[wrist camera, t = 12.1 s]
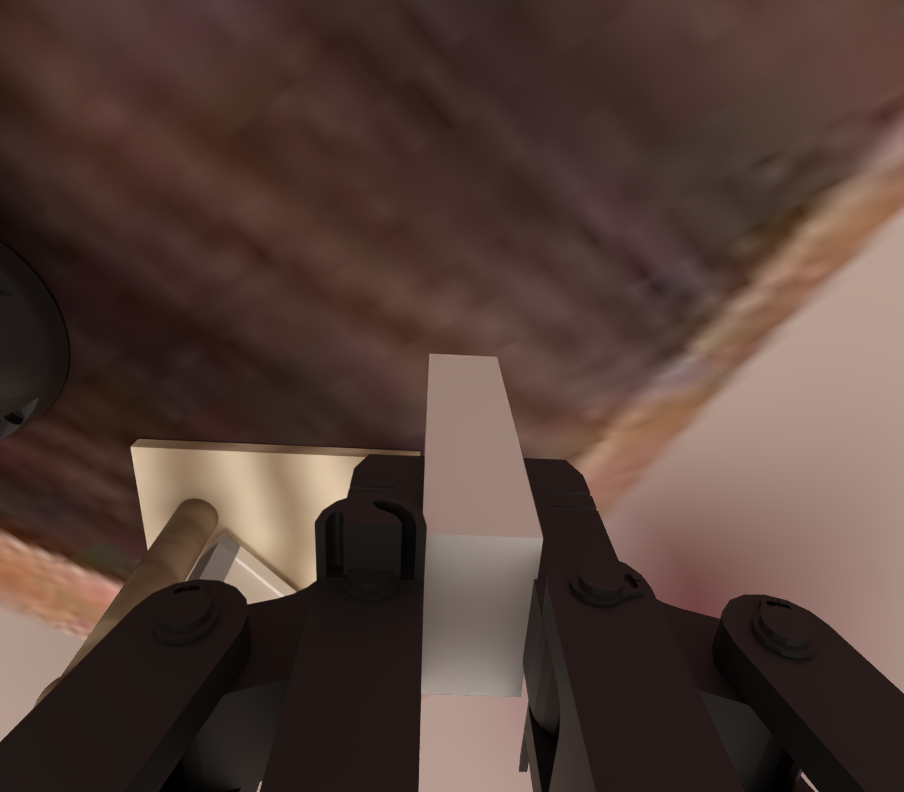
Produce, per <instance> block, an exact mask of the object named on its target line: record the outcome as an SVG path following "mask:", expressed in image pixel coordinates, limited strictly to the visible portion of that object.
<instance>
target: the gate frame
mask: <svg viewBox="0 0 904 792" xmlns="http://www.w3.org/2000/svg"><path fill="white" fill-rule="evenodd" d="M131 453H132V459H133V465H134V471H135V477H136V483H137V489H138V495H139V500H140V506H141V512H142V518H143V524H144V530H145V536H146V542H147V548H148V551H147V553H146V554H145V555H144V557H143V558H142V560H141V561H140V563H139V564H138V566H137V567H136V568H135V570H134V571H133V573H132V574H131V576H130V577H129V579H128V580H127V582H126V583H125V584H124V586H123V587H122V589H121V590H120V592H119V593H118V595H117V596H116V597H115V599H114V600H113V602H112V603H111V605H110V606H109V608H108V609H107V610H106V612H105V613H104V615H103V616H102V618H101V619H100V621H99V622H98V624H97V625H96V626H95V628H94V629H93V631H92V632H91V634H90V635H89V637H88V638H87V639H86V641H85V642H84V644H83V645H82V647H81V648H80V650H79V651H78V652H77V654H76V655H75V657H74V658H73V660H72V661H71V663H70V664H69V666H68V667H67V668H66V670H65V671H64V673H63V674H62V676H61V677H59V678H58V679H56V680H55V681H53V682H52V683H51V684H50V685H48V686H47V687H46V688H45V690H44V691H43V692H42V693H41V695H40V696H39V698H38V699H37V702H36V704H35V706H36V705H37V704H38V703H39V702H40V701H41V700H42V699H43V698H44V697H45V696H46V695H47V694H48V693H49V692H50V691H51V690H52V689H53V688H54V687H55V686H56V685H57V684H58V683H59V682H60V681H61V680H62V679H63V678H64V677H65V676H66V675H67V674H68V673H69V672H70V671H71V670H72V669H73V668H74V667H75V666H76V665H77V664H78V663H79V662H80V661H81V660H82V659H83V658H84V657H85V656H86V655H87V654H88V653H89V652H90V651H91V650H92V649H93V648H94V647H95V646H96V645H97V644H98V643H99V642H100V641H101V640H102V639H103V638H104V637H105V636H106V635H107V634H108V633H109V632H110V631H111V630H112V629H113V628H114V627H115V626H116V625H117V624H118V623H119V622H120V621H121V620H122V619H123V618H124V617H125V616H126V615H127V614H128V613H129V612H130V611H131V610H132V609H133V608H134V607H135V606H136V605H137V604H139V603H140V602H141V601H143V600H144V599H145V598H147V597H148V596H149V595H151V594H152V593H154V592H156V591H159V590H161V589H163V588H165V587H168V586H170V585H172V584H175V583H180V582H185V581H187V580H188V578H189V576H190V574H191V573H192V571H193V569H194V567H195V565H196V564H197V562H198V560H199V558H200V556H201V555H202V553H203V551H204V549H205V547H206V546H208V545H209V544H210V543H211V542H213V541H214V540H215V539H216V538H218V537H219V536H220V535H221V534H223V533H226V534H227V535H228V536H229V537H230V538H232V539H233V540H234V541H235V542H237V543H238V544H239V545H240V546H241V547H243V548H244V549H245V550H246V551H247V552H249V553H250V554H251V555H252V556H254V557H255V558H256V559H257V560H258V561H260V562H261V563H262V564H263V565H264V566H266V567H267V568H268V569H269V570H270V571H272V572H273V573H274V574H275V575H277V576H278V577H279V578H280V579H281V580H283V581H284V582H285V583H286V584H287V585H289V586H290V587H291V588H292V589H294V590H295V591H296V592H298V591H300V590H302V589H304V588H306V587H308V586H309V585H311V584H312V583H313V582H315V581H316V579H317V577H316V550H315V523H314V522H315V521H316V519H317V518H318V516H319V515H320V513H321V512H322V510H324V509H325V508H327V507H328V506H330V505H331V504H333V503H334V502H336V501H338V500H341V499H345V498H347V495H348V491H349V489H350V483H351V479H352V475H353V471H354V468H355V467H356V466H357V465H358V464H359V463H360V462H361V461H362V460H363V459H364V458H366V457H367V456H368V455H369V454H385V455H409V456H420V451H403V450H380V449H357V448H334V447H312V446H289V445H266V444H243V443H221V442H198V441H175V440H152V439H138V440H137V441H136V442H135V443H134V444H133V445H132V446H131ZM35 706H34V707H35Z"/></svg>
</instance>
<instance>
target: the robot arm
mask: <svg viewBox="0 0 904 792" xmlns="http://www.w3.org/2000/svg"><path fill="white" fill-rule="evenodd" d="M68 362H69V350H68V341H67V335H66V331H65V327H64V324H63V321H62V318H61V315H60V313H59V311H58V308H57V306H56V304H55V302H54V300H53V299H52V297H51V295H50V293H49V292H48V290H47V289H46V287H45V286H44V284H43V283H42V282H41V280H40V279H39V278H38V276H37V275H36V274H35V273H34V272H33V270H32V269H31V268H30V267H29V266H28V265H27V264H26V263H25V262H24V261H23V260H22V259H21V258H20V257H19V256H18V255H17V254H15V253H14V252H13V251H12V250H11V249H9V248H8V247H7V246H5V245H4V244H3V243H2V242H0V440H3V439H5V438H7V437H9V436H11V435H13V434H15V433H17V432H19V431H20V430H21V429H23V428H24V427H26V426H27V425H28V424H30V423H31V422H33V421H34V420H35V419H37V418H38V417H40V416H41V415H42V414H43V413H45V412H46V411H47V410H48V409H49V408H50V407H51V405H52V404H53V403H54V402H55V400H56V399H57V397H58V395H59V394H60V392H61V390H62V388H63V385H64V382H65V379H66V375H67V370H68ZM314 523H315V550H316V577H317V579H316V581H315V582H313V583H312V584H311V585H309V586H308V587H306V588H304V589H302V590H300V591H298V592H296V593H294V594H291V595H287V596H284V597H280V598H277V599H272V600H267V601H262V602H257V603H252V604H247V599H246V598H245V597H244V595H243V594H242V593H241V592H240V591H239V590H238V589H237V587H235V586H232V585H230V584H227V583H225V582H222V581H220V580H204V579H196V580H191V581H185V582H180V583H175V584H172V585H170V586H168V587H165V588H163V589H161V590H159V591H156V592H154V593H152V594H151V595H149V596H148V597H147V598H145V599H144V600H143V601H141V602H140V603H139V604H137V605H136V606H135V607H134V608H133V609H132V610H131V611H130V612H129V613H128V614H127V615H126V616H125V617H124V618H123V619H122V620H121V621H120V622H119V623H118V624H117V625H116V626H115V627H114V628H113V629H112V630H111V631H110V632H109V633H108V634H107V635H106V636H105V637H104V638H103V639H102V640H101V641H100V642H99V643H98V644H97V645H96V646H95V647H94V648H93V649H92V650H91V651H90V652H89V653H88V654H87V655H86V656H85V657H84V658H83V659H82V660H81V661H80V662H79V663H78V664H77V665H76V666H75V667H74V668H73V669H72V670H71V671H70V672H69V673H68V674H67V675H66V676H65V677H64V678H63V679H62V680H61V681H60V682H59V683H58V684H57V685H56V686H55V687H54V688H53V689H52V690H51V691H50V692H49V693H48V694H47V695H46V696H45V697H44V698H43V699H42V700H41V701H40V702H39V703H38V704H37V705H36V706H35V707H34V708H33V710H32V711H31V712H30V713H29V714H28V715H27V716H26V717H25V718H24V719H23V720H22V721H21V722H20V723H19V724H18V725H17V726H16V727H15V728H14V729H13V730H12V731H11V732H10V733H9V734H8V735H7V736H6V737H5V738H4V739H3V740H2V741H1V742H0V792H256V791H257V789H258V786H259V783H260V782H261V781H262V785H261V789H260V792H418V785H419V750H420V713H421V694H424V695H466V696H504V697H520V696H521V690H522V683H523V676H524V674H525V680H526V686H527V693H528V699H529V701H528V708H527V715H526V721H525V728H524V734H523V741H522V747H521V754H520V765H519V771H520V772H527V769H528V763H529V764H530V772H531V780H532V787H533V792H815V791H814V790H813V789H812V788H811V787H810V786H809V785H808V784H807V783H806V782H805V780H804V779H803V778H802V777H801V773H802V771H803V773H804V774H805V775H806V776H807V778H808V779H809V780H810V781H811V783H812V784H813V785H814V786H815V788H816V789H817V790H818V791H819V792H904V694H903V693H902V692H901V691H900V690H899V689H898V688H897V687H896V686H895V685H894V684H893V683H891V682H890V681H889V680H888V679H887V678H886V677H885V676H884V675H883V674H881V672H879V671H878V670H877V669H876V668H875V667H874V666H873V665H872V664H871V663H870V662H869V661H867V660H866V659H865V658H864V657H863V656H862V655H861V654H859V652H857V651H856V650H855V649H854V648H853V647H852V646H851V645H850V644H849V643H848V642H847V641H846V640H844V639H843V638H842V637H841V636H840V635H839V634H838V633H837V632H836V631H835V630H833V629H832V628H831V627H830V626H829V625H828V624H826V623H825V622H824V621H822V620H821V619H820V618H818V617H817V616H816V615H814V614H813V613H811V612H810V611H808V610H806V609H804V608H802V607H800V606H798V605H796V604H793V603H791V602H789V601H787V600H783V599H779V598H775V597H771V596H767V595H742V596H740V597H737V598H734V599H732V600H730V601H729V602H728V604H727V605H726V607H725V608H724V610H723V611H722V615H721V618H720V619H718V618H715V617H711V616H707V615H703V614H699V613H695V612H692V611H688V610H684V609H680V608H677V607H674V606H672V605H668V604H666V603H663V602H661V601H659V600H657V599H656V597H655V595H654V593H653V591H652V589H651V587H650V586H649V584H648V583H647V582H646V580H645V579H644V578H643V577H642V575H641V574H639V573H638V572H637V571H635V570H634V569H632V568H631V567H630V566H628V565H627V564H625V563H623V562H620V561H618V558H617V556H616V553H615V551H614V549H613V546H612V544H611V541H610V539H609V537H608V534H607V532H606V529H605V527H604V525H603V522H602V520H601V517H600V515H599V513H598V511H596V505H595V503H594V501H593V498H592V496H590V491H589V489H588V486H587V484H586V481H585V479H584V477H583V475H582V474H581V473H580V472H579V471H577V470H576V469H575V468H574V467H573V466H572V465H571V464H569V463H568V462H567V461H566V460H555V459H531V458H523V457H522V453H521V449H520V445H519V441H518V438H517V434H516V430H515V426H514V422H513V418H512V414H511V410H510V406H509V402H508V399H507V395H506V391H505V387H504V383H503V379H502V375H501V371H500V367H499V363H498V359H497V357H487V356H466V355H446V354H429V373H428V395H427V416H426V438H425V456H409V455H385V454H369V455H368V456H367V457H366V458H364V459H363V460H362V461H361V462H360V463H359V464H358V465H357V466H356V467H355V468H354V471H353V475H352V479H351V483H350V489H349V491H348V495H347V498H345V499H341V500H338V501H336V502H334V503H333V504H331V505H330V506H328V507H327V508H325V509H324V510H322V512H321V513H320V515H319V516H318V518H317V519H316V521H315V522H314Z"/></svg>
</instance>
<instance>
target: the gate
mask: <svg viewBox="0 0 904 792" xmlns="http://www.w3.org/2000/svg"><path fill="white" fill-rule="evenodd" d="M196 579H204V580H220V581H222V582H225V583H227V584H230V585H232V586H235V587H237V589H238V590H239V591H240V592H241V593H242V594H243V595H244V597H245V598H246V599H247V604H252V603H257V602H262V601H267V600H272V599H277V598H280V597H284V596H287V595H291V594H294V593H296V591H295V590H294V589H292V588H291V587H290V586H289V585H287V584H286V583H285V582H284V581H283V580H281V579H280V578H279V577H278V576H277V575H275V574H274V573H273V572H272V571H270V570H269V569H268V568H267V567H266V566H264V565H263V564H262V563H261V562H260V561H258V560H257V559H256V558H255V557H254V556H252V555H251V554H250V553H249V552H247V551H246V550H245V549H244V548H243V547H241V546H240V545H239V544H238V543H237V542H235V541H234V540H233V539H232V538H230V537H229V536H228V535H227V534H226V533H223V534H221V535H220V536H219V537H218V538H216V539H215V540H214V541H213V542H211V543H210V544H209V545H208V546H206V547H205V549H204V551H203V553H202V555H201V556H200V558H199V560H198V562H197V564H196V565H195V567H194V569H193V571H192V573H191V574H190V576H189V578H188V580H187V581H191V580H196Z"/></svg>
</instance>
